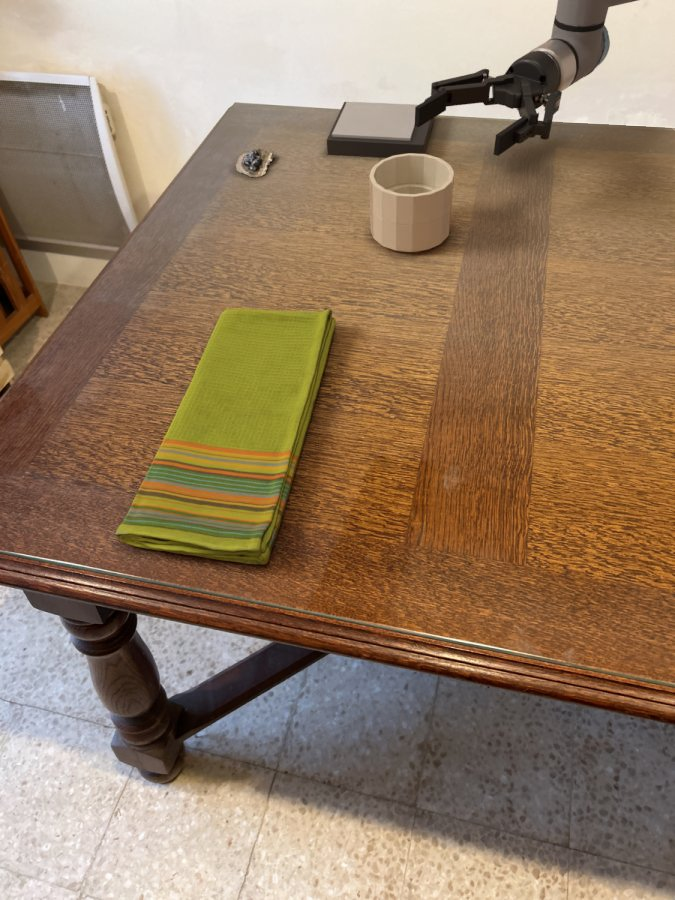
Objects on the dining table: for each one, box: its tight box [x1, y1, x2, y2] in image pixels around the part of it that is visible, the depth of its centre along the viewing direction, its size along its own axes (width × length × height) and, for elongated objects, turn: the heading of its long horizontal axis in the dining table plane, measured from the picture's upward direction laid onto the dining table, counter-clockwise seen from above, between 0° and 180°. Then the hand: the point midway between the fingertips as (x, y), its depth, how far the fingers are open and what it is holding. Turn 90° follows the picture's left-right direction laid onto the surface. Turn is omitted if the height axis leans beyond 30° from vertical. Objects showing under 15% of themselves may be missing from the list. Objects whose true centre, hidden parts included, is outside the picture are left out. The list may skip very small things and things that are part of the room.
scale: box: [326, 101, 435, 159], centre depth 120 cm, size 16×14×3 cm
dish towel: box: [115, 307, 337, 565], centre depth 78 cm, size 15×36×3 cm, turn 169°
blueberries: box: [235, 148, 275, 179], centre depth 116 cm, size 7×8×2 cm
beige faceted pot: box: [368, 153, 455, 253], centre depth 99 cm, size 11×11×9 cm
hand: (455, 131), depth 98 cm, fingers open, 13 cm apart
